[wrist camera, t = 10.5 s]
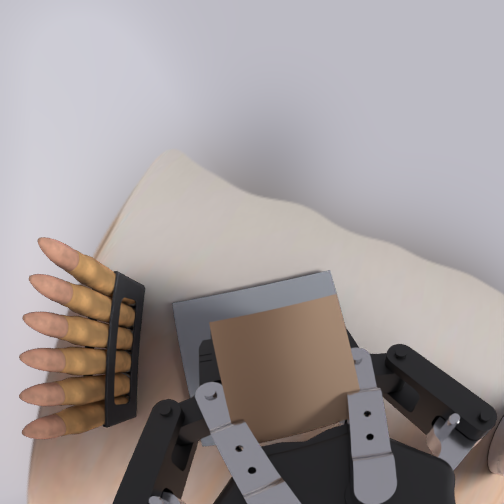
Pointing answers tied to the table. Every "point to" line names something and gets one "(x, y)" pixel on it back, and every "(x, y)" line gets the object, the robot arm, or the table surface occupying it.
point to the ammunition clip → (89, 335)
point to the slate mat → (234, 305)
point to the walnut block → (286, 368)
